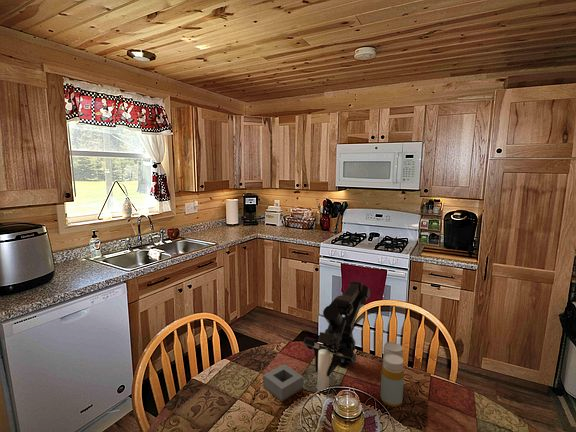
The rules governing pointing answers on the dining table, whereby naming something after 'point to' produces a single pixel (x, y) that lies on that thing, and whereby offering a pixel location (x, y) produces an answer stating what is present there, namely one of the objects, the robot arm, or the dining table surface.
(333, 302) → the robot arm
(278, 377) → the hole block
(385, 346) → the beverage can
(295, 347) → the dining table surface
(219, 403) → the dining table surface
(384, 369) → the bottle
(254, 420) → the dining table surface
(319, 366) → the peg
